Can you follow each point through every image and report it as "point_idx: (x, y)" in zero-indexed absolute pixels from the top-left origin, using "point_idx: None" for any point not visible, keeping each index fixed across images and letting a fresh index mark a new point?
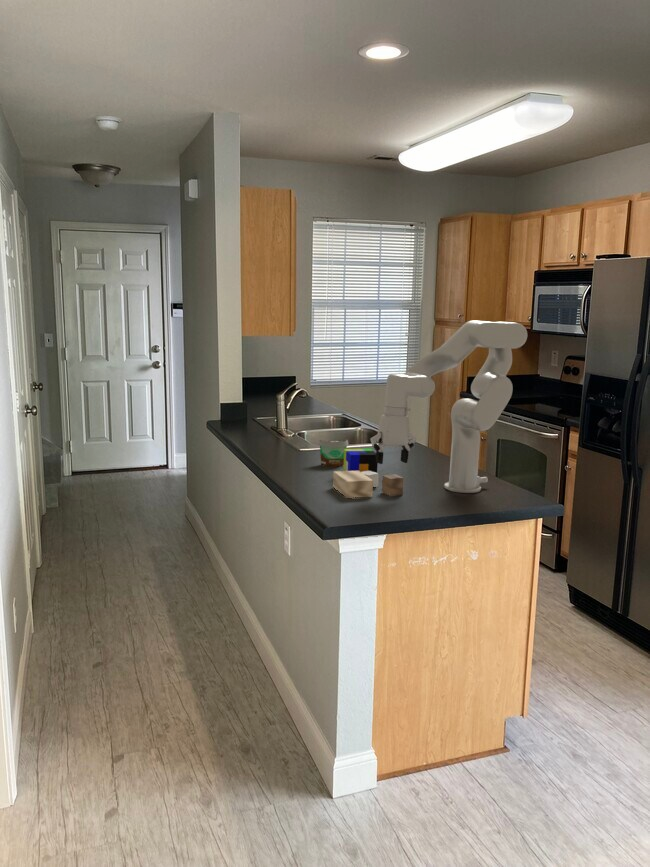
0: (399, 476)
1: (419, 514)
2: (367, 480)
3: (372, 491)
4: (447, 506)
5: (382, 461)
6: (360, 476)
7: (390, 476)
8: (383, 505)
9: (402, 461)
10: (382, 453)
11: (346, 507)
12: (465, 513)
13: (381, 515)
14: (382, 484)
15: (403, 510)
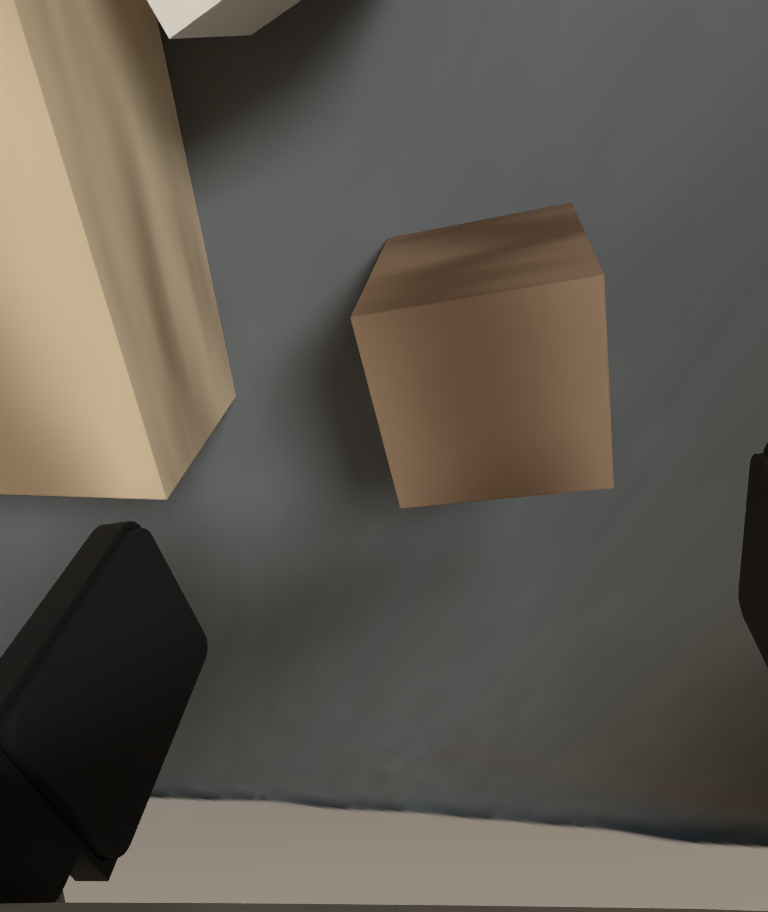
0: (589, 423)
1: (451, 768)
2: (96, 490)
3: (213, 427)
4: (757, 710)
5: (188, 686)
6: (4, 285)
7: (448, 399)
8: (278, 599)
9: (748, 518)
10: (104, 850)
11: (9, 582)
12: (758, 818)
13: (218, 733)
14: (373, 274)
15: (383, 702)
